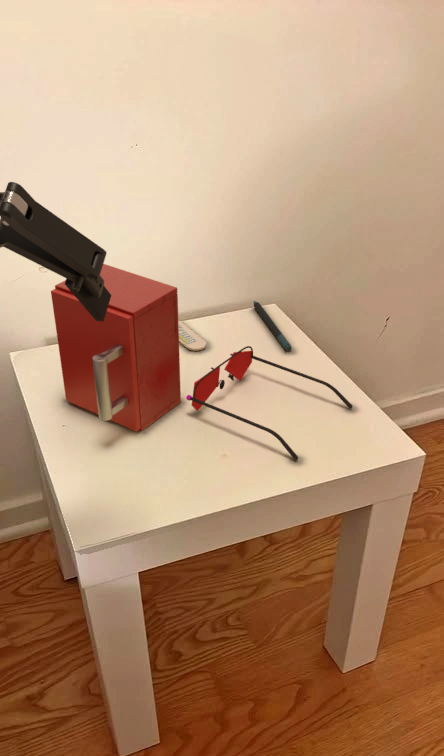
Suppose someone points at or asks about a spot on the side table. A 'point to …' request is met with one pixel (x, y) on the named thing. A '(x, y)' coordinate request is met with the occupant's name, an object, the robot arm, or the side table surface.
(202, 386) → the glasses
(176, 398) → the cabinet
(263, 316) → the pen
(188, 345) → the beige remote control
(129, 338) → the door
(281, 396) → the side table surface
